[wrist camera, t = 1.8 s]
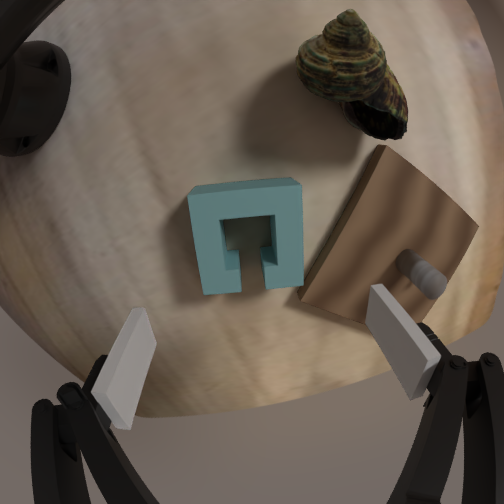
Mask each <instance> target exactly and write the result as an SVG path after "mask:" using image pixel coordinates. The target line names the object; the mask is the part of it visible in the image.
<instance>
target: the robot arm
mask: <svg viewBox="0 0 504 504" xmlns="http://www.w3.org/2000/svg"><path fill="white" fill-rule="evenodd" d="M64 1H65V0H0V155H3V156H9V157H13V156H19V155H24V154H28V153H31V152H33V151H34V150H36V149H37V148H39V147H40V146H41V145H42V144H43V143H45V141H46V140H47V139H48V138H49V137H50V136H51V134H52V133H53V131H54V130H55V128H56V127H57V125H58V123H59V121H60V119H61V117H62V115H63V112H64V110H65V107H66V104H67V101H68V97H69V92H70V86H71V69H70V64H69V60H68V58H67V56H66V54H65V52H64V51H63V50H62V49H61V48H60V47H58V46H56V45H54V44H51V43H49V42H46V41H30V42H24V41H25V40H26V39H27V38H28V37H29V35H30V34H31V33H32V32H33V31H34V30H35V29H36V28H37V27H38V26H39V25H40V24H41V23H42V22H43V21H44V20H45V19H46V18H47V17H48V16H49V15H50V14H51V13H52V12H53V11H54V10H55V9H56V8H57V7H58V6H59V5H60V4H61V3H62V2H64ZM23 42H24V43H23ZM365 324H366V325H367V327H368V328H369V330H370V332H371V333H372V335H373V337H374V338H375V340H376V342H377V343H378V345H379V347H380V348H381V350H382V352H383V353H384V355H385V357H386V358H387V360H388V362H389V364H390V365H391V367H392V369H393V371H394V372H395V374H396V376H397V377H398V379H399V381H400V383H401V385H402V386H403V388H404V390H405V392H406V393H407V395H408V397H409V399H410V400H413V399H415V398H418V397H421V396H423V394H424V392H425V390H426V388H427V389H428V391H429V392H430V394H429V396H428V398H427V400H426V402H425V403H424V405H423V407H425V409H424V413H423V416H422V419H421V422H420V425H419V428H418V431H417V434H416V437H415V440H414V443H413V445H412V448H411V451H410V453H409V456H408V458H407V461H406V463H405V466H404V468H403V471H402V473H401V475H400V477H399V479H398V482H397V484H396V486H395V488H394V490H393V492H392V494H391V496H390V498H389V500H388V502H387V504H441V503H440V498H441V495H442V492H443V490H444V487H445V484H446V481H447V478H448V475H449V472H450V468H451V465H452V461H453V458H454V454H455V450H456V446H457V442H458V437H459V432H460V427H461V422H462V417H463V430H464V482H463V494H462V504H504V372H503V368H502V365H501V362H500V360H499V358H498V357H497V356H496V355H495V354H492V353H488V352H487V353H484V354H482V355H481V357H480V359H479V361H472V362H467V361H466V360H465V359H464V358H463V357H461V356H457V355H452V354H451V353H450V352H449V351H448V349H447V348H446V347H445V346H444V344H443V343H442V342H441V341H440V339H438V337H437V336H436V335H435V334H434V332H433V331H432V330H431V329H430V327H428V326H427V325H425V324H424V323H422V322H420V323H415V322H414V321H413V319H412V318H411V317H410V316H409V315H408V313H407V312H406V311H405V310H404V309H403V307H402V306H401V305H400V304H399V303H398V302H397V300H396V299H395V298H394V297H393V296H392V295H391V293H390V292H389V291H388V290H387V289H386V288H385V287H384V285H383V284H376V285H371V287H370V294H369V301H368V308H367V315H366V321H365ZM156 345H157V343H156V340H155V337H154V334H153V331H152V328H151V325H150V322H149V319H148V316H147V313H146V310H145V307H139V308H133V309H132V311H131V312H130V314H129V316H128V318H127V320H126V322H125V324H124V326H123V327H122V329H121V331H120V333H119V335H118V337H117V339H116V341H115V343H114V345H113V347H112V349H111V351H110V353H109V355H101V356H100V357H99V358H98V359H97V360H96V362H95V363H94V365H93V367H92V369H91V371H90V373H89V374H90V375H88V377H87V379H86V381H85V383H84V386H83V388H82V389H81V387H80V386H79V385H78V384H77V383H75V382H69V383H66V384H64V385H62V386H61V387H60V388H59V390H58V392H57V398H58V400H59V401H60V403H61V404H62V405H55V406H54V405H53V404H52V402H51V401H50V400H48V399H41V400H39V401H38V402H36V403H35V404H34V406H33V408H32V418H31V473H32V486H33V495H34V503H35V504H91V501H90V497H89V493H88V489H87V484H86V480H85V475H84V469H83V464H82V457H81V452H82V454H83V456H84V459H85V461H86V463H87V465H88V467H89V469H90V472H91V473H92V476H93V478H94V480H95V482H96V484H97V485H98V487H99V489H100V491H101V493H102V495H103V496H104V498H105V500H106V502H107V504H159V502H158V501H157V500H156V498H155V497H154V496H153V495H152V493H151V492H150V490H149V489H148V488H147V486H146V485H145V484H144V482H143V481H142V479H141V478H140V476H139V475H138V473H137V472H136V470H135V469H134V467H133V466H132V464H131V463H130V461H129V459H128V458H127V456H126V454H125V453H124V451H123V450H122V448H121V446H120V444H119V443H118V441H117V439H116V437H115V436H114V434H113V432H112V430H111V429H110V428H109V427H110V424H111V422H112V423H113V424H114V425H115V427H116V428H119V429H126V430H130V429H131V426H132V422H133V418H134V415H135V411H136V408H137V405H138V401H139V398H140V394H141V391H142V388H143V385H144V381H145V378H146V375H147V372H148V369H149V366H150V363H151V360H152V357H153V353H154V350H155V347H156ZM80 449H81V451H80Z"/></svg>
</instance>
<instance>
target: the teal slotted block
mask: <svg viewBox="0 0 504 504" xmlns="http://www.w3.org/2000/svg"><path fill="white" fill-rule="evenodd" d="M187 197H188V204H189V211H190V218H191V225H192V231H193V237H194V243H195V249H196V255H197V261H198V267H199V273H200V278H201V283H202V289H203V294H204V295H211V294H223V293H235V292H242V289H241V267H240V258H239V249H237V250H227V247H226V239H225V231H224V222H223V219H232V218H243V217H253V216H264V215H270V225H271V241H272V246H268V247H260V252H261V265H262V272H263V277H264V282H265V288H266V289H275V288H285V287H294V286H303V285H304V255H303V207H302V185H301V184H300V183H298V182H297V181H295V180H294V179H293V178H291V177H289V178H274V179H261V180H250V181H239V182H229V183H219V184H210V185H202V186H195V187H194V188H193V190H192V191H191V192H190V193H189V194H188V195H187Z"/></svg>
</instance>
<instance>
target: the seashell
mask: <svg viewBox="0 0 504 504" xmlns="http://www.w3.org/2000/svg"><path fill="white" fill-rule="evenodd" d="M322 32H323V34H321V35H315V36H313V37H312V38H310V39H309V40H307V41H305V42H303V43H302V45H301V46H300V47H299V51H298V55H297V57H296V65H297V74H298V76H299V78H300V79H301V81H302V82H303V84H304V85H305V87H306V88H307V89H308V90H309V91H311V92H312V93H314V94H316V95H318V96H320V97H323V98H325V99H328V100H331V101H336V102H338V103H339V104H340V105H341V107H342V110H343V113H344V116H345V118H346V119H347V120H348V122H349V123H351V124H352V126H353V127H355V128H358V129H360V130H362V131H363V132H364V133H365V134H367V135H369V136H372V137H374V138H376V139H380V140H386V139H388V138H389V139H394V140H397V139H402V136H403V135H404V133H405V132H407V122H408V107H407V101H406V98H405V95H404V93H403V91H402V88H401V86H400V85H399V83H398V81H397V79H396V77H395V76H394V74H393V72H392V71H391V70H390V68H389V66H388V65H387V60H386V57H385V51H384V50H383V49H382V45H381V44H380V42H379V41H378V40H377V39H376V37H375V36H374V35H373V34H372V33H371V32H370V31H369V29H368V27H367V25H366V23H365V22H364V21H363V20H362V19H361V18H360V17H359V15H358V14H357V12H356V11H354V10H353V9H349V10H346V11H344V12H342V13H341V14H339V15H338V16H337V19H334V20H332V21H330V22H329V23H328V24H326V26H325V28H324V30H323V31H322Z"/></svg>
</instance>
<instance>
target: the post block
mask: <svg viewBox="0 0 504 504" xmlns="http://www.w3.org/2000/svg"><path fill="white" fill-rule="evenodd" d="M478 227H479V226H478V225H477V224H476V222H475V221H474V220H473V219H472V218H471V217H470V216H469V215H468V214H467V213H466V212H465V211H464V210H463V209H462V208H461V207H460V206H459V205H458V204H457V203H456V202H454V201H453V200H452V199H451V198H450V197H449V196H448V195H447V194H446V193H445V192H444V191H443V190H441V189H440V188H439V187H438V186H437V185H436V184H435V183H434V182H432V181H431V180H430V179H429V178H428V177H427V176H425V175H424V174H423V173H422V172H420V171H419V170H418V169H417V168H416V167H414V166H413V165H412V164H411V163H409V162H408V161H407V160H405V159H404V158H403V157H402V156H400V155H399V154H398V153H396V152H395V151H394V150H392V149H391V148H390V147H388V146H387V145H378V146H377V148H376V150H375V152H374V154H373V156H372V158H371V160H370V162H369V164H368V166H367V168H366V170H365V172H364V174H363V176H362V178H361V180H360V182H359V184H358V186H357V188H356V190H355V191H354V193H353V195H352V197H351V199H350V201H349V203H348V205H347V206H346V208H345V210H344V212H343V214H342V216H341V218H340V219H339V221H338V223H337V225H336V227H335V228H334V230H333V232H332V234H331V236H330V237H329V239H328V241H327V243H326V244H325V246H324V248H323V250H322V251H321V253H320V255H319V257H318V258H317V260H316V262H315V263H314V265H313V267H312V268H311V270H310V272H309V274H308V275H307V277H306V279H305V280H304V285H303V286H301V287H300V288H299V290H298V292H297V293H298V296H299V299H300V301H302V302H304V303H307V304H310V305H312V306H315V307H318V308H321V309H323V310H326V311H329V312H332V313H334V314H337V315H340V316H343V317H346V318H348V319H351V320H354V321H357V322H360V323H362V324H365V321H366V315H367V308H368V301H369V294H370V287H371V285H376V284H383V285H384V287H385V288H386V289H387V290H388V291H389V292H390V293H391V295H392V296H393V297H394V298H395V299H396V300H397V302H398V303H399V304H400V305H401V306H402V307H403V309H404V310H405V311H406V312H407V313H408V315H409V316H410V317H411V318H412V319H413V321H414V322H415V323H420V322H422V320H423V319H424V318H425V316H426V315H427V313H428V312H429V311H430V309H431V308H432V306H433V305H434V303H435V302H436V300H437V299H438V297H440V296H441V295H442V293H443V292H444V291H445V289H446V286H447V283H448V282H449V280H450V279H451V277H452V275H453V274H454V272H455V270H456V269H457V267H458V265H459V263H460V262H461V260H462V258H463V256H464V254H465V253H466V251H467V249H468V247H469V245H470V243H471V241H472V239H473V237H474V235H475V233H476V231H477V229H478ZM365 325H366V324H365Z"/></svg>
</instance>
